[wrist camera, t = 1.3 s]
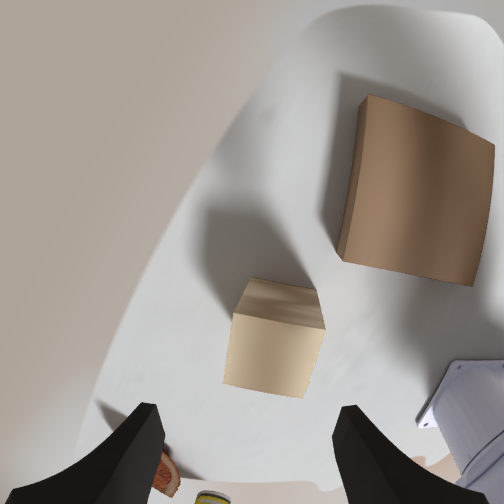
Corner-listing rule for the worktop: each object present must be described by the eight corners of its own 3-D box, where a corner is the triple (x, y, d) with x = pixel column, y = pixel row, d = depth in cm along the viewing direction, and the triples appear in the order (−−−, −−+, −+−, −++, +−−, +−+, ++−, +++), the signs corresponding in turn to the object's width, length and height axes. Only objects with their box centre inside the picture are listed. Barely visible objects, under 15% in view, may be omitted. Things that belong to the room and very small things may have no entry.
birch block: (316, 289, 19) (325, 329, 13) (301, 346, 20) (303, 398, 14) (251, 277, 19) (233, 312, 13) (241, 334, 20) (222, 383, 14)
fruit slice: (197, 464, 24) (185, 495, 20) (169, 475, 26) (156, 502, 21) (138, 422, 24) (118, 452, 19) (116, 438, 26) (98, 463, 21)
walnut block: (472, 149, 15) (494, 145, 12) (452, 275, 17) (472, 286, 14) (357, 108, 16) (368, 94, 13) (335, 251, 18) (342, 261, 15)
